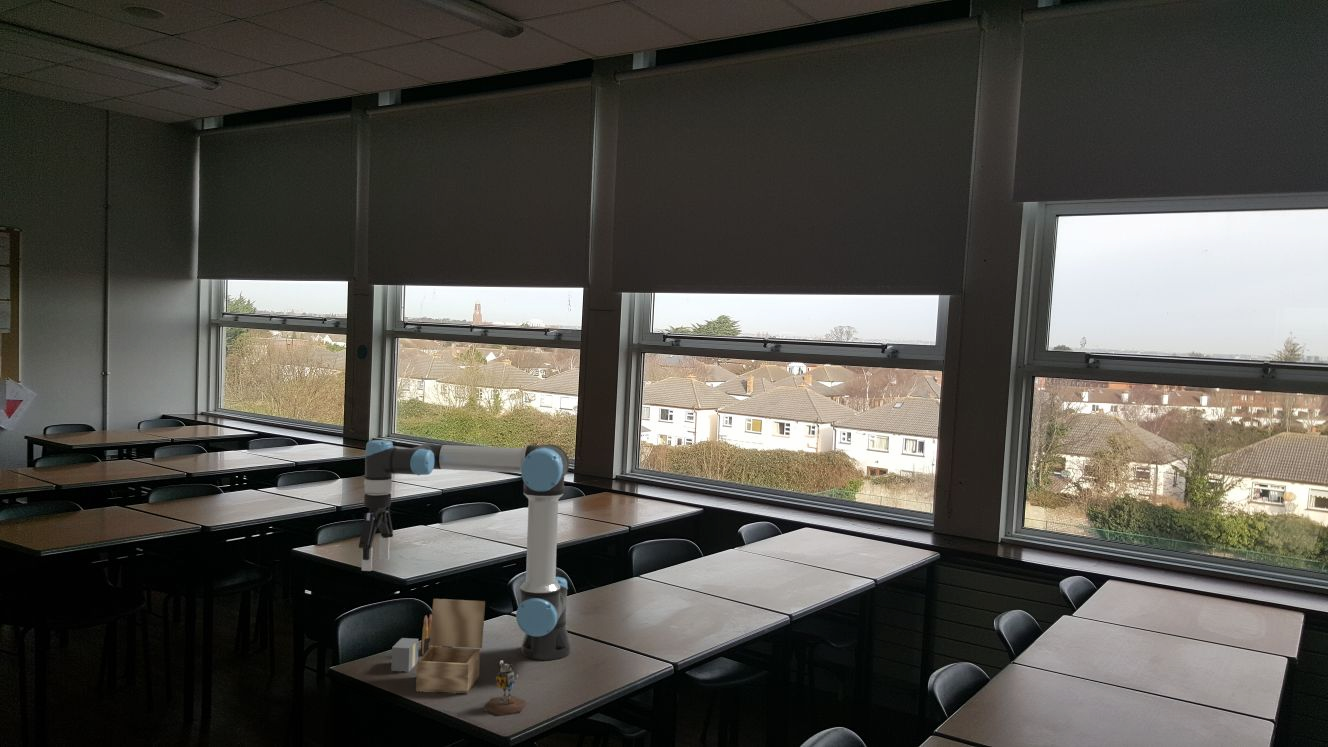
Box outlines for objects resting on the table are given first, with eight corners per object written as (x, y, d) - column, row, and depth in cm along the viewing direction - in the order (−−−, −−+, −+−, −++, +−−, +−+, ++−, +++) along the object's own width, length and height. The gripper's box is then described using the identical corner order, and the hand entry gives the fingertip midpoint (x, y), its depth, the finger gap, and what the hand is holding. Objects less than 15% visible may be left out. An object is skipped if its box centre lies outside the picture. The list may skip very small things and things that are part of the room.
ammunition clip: (424, 656, 256) (425, 616, 255) (420, 654, 257) (421, 615, 256) (452, 647, 264) (453, 608, 264) (448, 645, 265) (450, 607, 265)
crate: (478, 677, 241) (479, 649, 240) (467, 694, 229) (468, 664, 228) (430, 674, 241) (430, 646, 241) (415, 691, 229) (416, 661, 229)
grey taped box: (417, 662, 250) (418, 638, 250) (408, 672, 242) (409, 648, 242) (400, 661, 251) (401, 638, 250) (391, 671, 243) (391, 647, 242)
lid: (481, 648, 240) (482, 647, 241) (484, 601, 242) (485, 601, 243) (429, 645, 241) (430, 645, 242) (433, 599, 243) (434, 598, 244)
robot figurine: (533, 708, 221) (535, 662, 221) (506, 719, 214) (508, 672, 214) (505, 696, 228) (506, 651, 228) (477, 706, 221) (479, 661, 221)
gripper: (381, 485, 263) (379, 554, 264) (347, 499, 238) (345, 574, 239) (404, 487, 263) (402, 555, 263) (374, 500, 238) (372, 576, 238)
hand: (375, 564), depth 251 cm, fingers open, 13 cm apart
